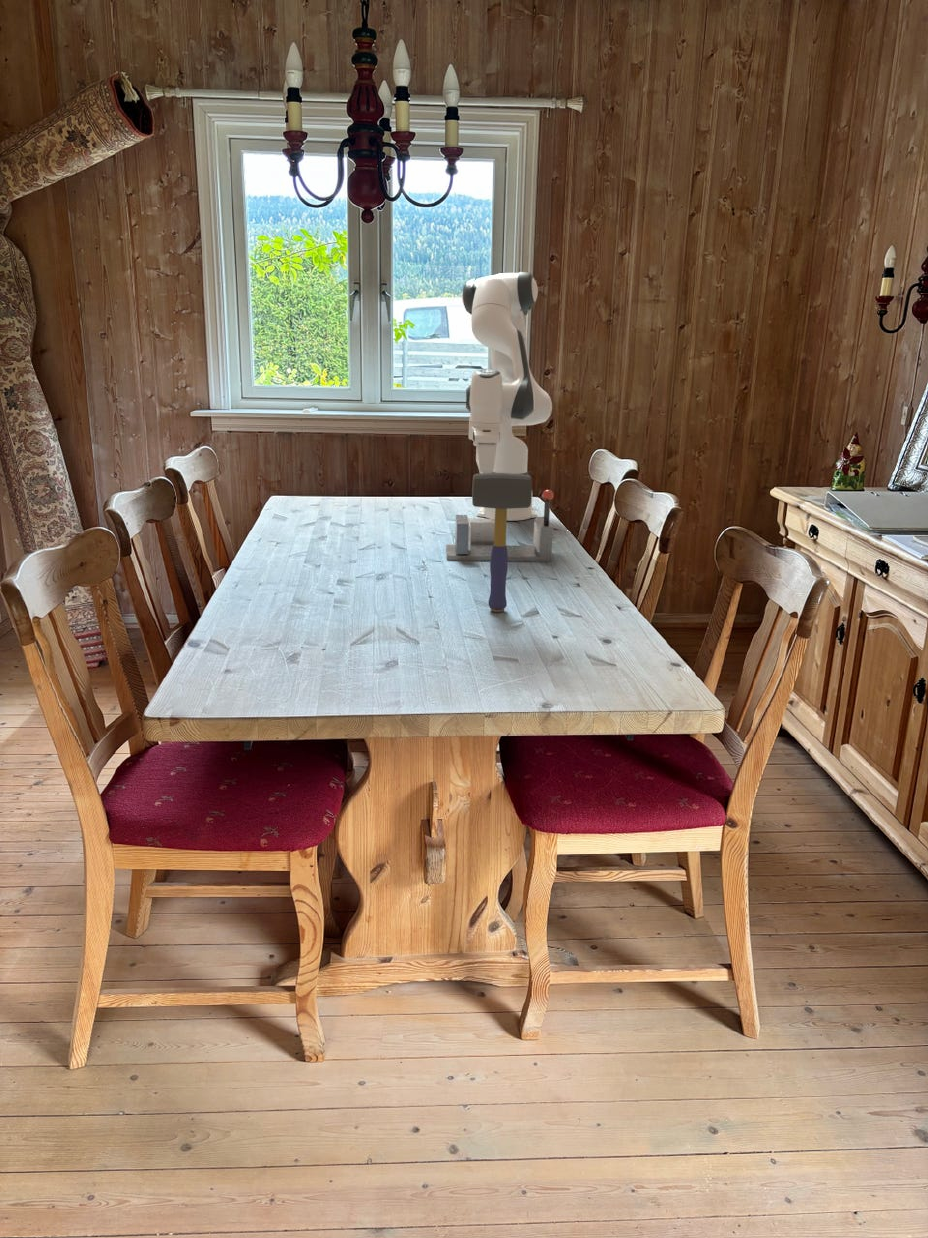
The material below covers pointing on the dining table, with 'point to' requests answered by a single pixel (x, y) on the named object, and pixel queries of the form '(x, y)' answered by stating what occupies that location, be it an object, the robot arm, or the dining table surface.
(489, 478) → the rubber mallet
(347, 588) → the dining table surface
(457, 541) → the block
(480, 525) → the block
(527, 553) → the vise
